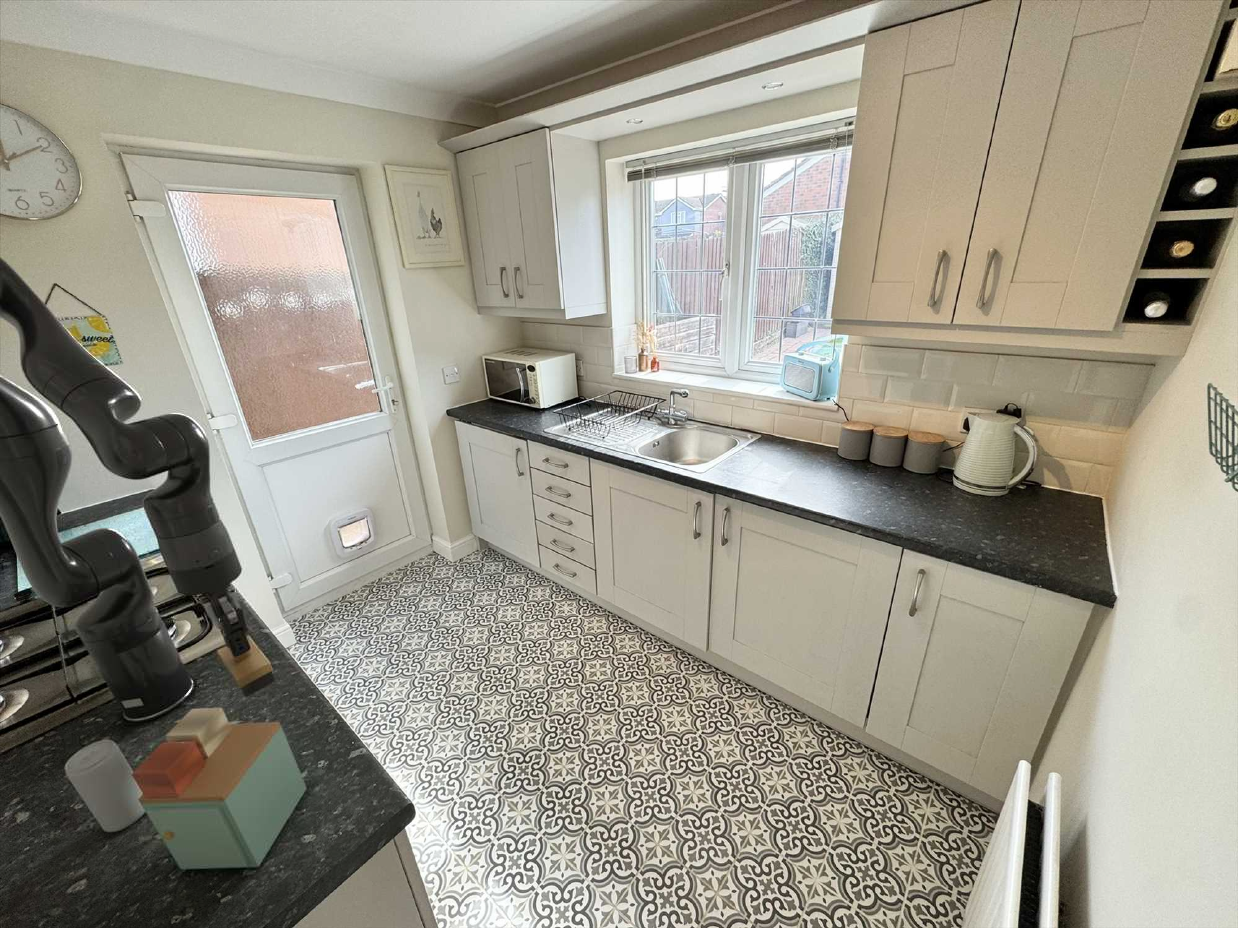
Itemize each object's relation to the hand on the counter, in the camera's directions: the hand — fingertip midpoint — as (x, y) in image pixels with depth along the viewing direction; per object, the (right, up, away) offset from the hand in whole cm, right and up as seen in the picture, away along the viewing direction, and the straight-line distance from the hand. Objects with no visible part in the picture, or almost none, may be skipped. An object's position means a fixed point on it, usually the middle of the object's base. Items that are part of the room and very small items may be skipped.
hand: (239, 648), depth 75 cm
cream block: (+6, -7, -13) cm, 16 cm away
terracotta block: (+6, -9, -18) cm, 21 cm away
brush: (0, -5, +2) cm, 5 cm away
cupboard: (+9, -20, -10) cm, 24 cm away
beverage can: (-9, -20, -8) cm, 24 cm away
